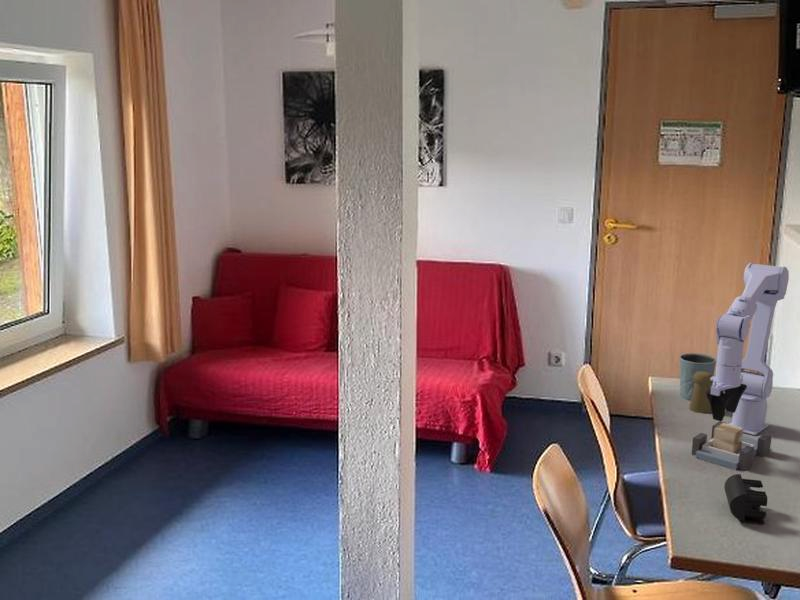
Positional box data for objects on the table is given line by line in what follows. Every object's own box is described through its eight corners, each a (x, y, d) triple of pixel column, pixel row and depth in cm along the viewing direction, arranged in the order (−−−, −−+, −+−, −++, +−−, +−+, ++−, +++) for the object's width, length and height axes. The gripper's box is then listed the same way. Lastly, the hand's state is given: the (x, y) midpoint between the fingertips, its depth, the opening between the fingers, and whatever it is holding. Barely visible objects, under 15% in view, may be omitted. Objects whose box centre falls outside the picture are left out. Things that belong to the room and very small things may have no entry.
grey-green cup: (714, 403, 242) (718, 364, 239) (678, 400, 244) (681, 361, 241) (710, 392, 251) (713, 354, 248) (675, 389, 254) (678, 351, 251)
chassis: (720, 435, 218) (721, 419, 217) (771, 449, 209) (773, 433, 208) (689, 455, 206) (690, 439, 205) (742, 471, 197) (744, 454, 196)
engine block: (721, 443, 210) (723, 422, 208) (741, 449, 206) (743, 428, 205) (712, 449, 206) (714, 428, 205) (732, 455, 203) (734, 433, 201)
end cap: (722, 500, 183) (725, 472, 181) (757, 504, 181) (760, 475, 179) (728, 522, 173) (731, 492, 172) (764, 526, 172) (768, 496, 170)
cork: (713, 413, 234) (716, 376, 231) (690, 412, 235) (693, 375, 232) (709, 406, 239) (713, 369, 237) (687, 404, 241) (690, 368, 238)
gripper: (725, 353, 211) (720, 404, 214) (700, 366, 201) (695, 419, 204) (753, 359, 207) (748, 411, 210) (729, 372, 196) (724, 427, 200)
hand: (724, 415), depth 207 cm, fingers open, 7 cm apart
